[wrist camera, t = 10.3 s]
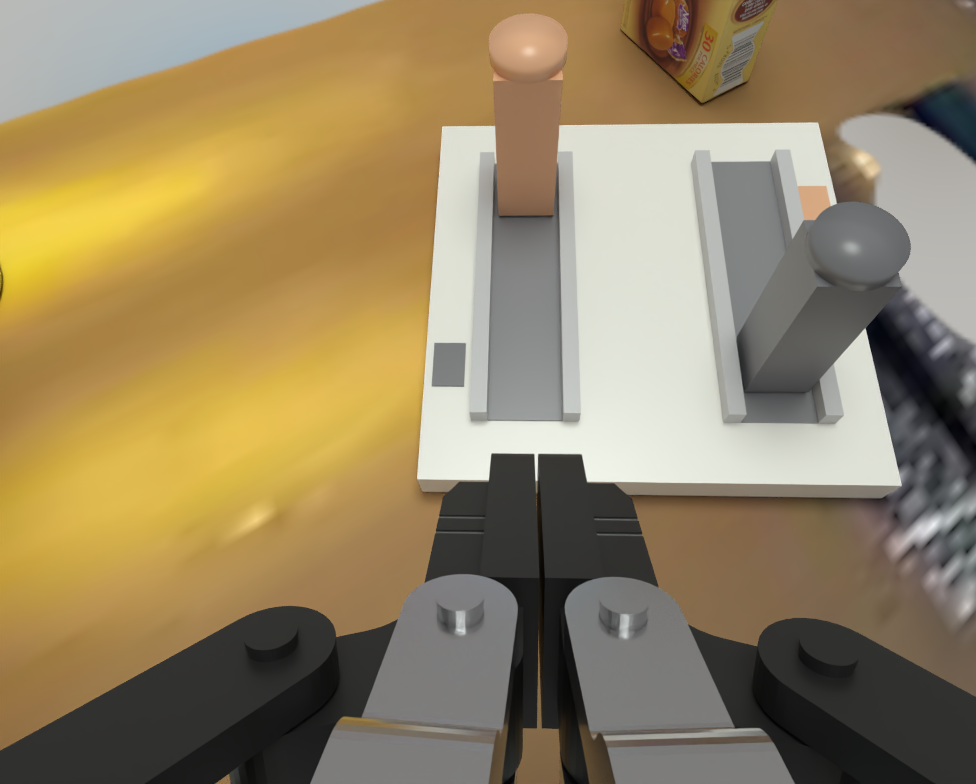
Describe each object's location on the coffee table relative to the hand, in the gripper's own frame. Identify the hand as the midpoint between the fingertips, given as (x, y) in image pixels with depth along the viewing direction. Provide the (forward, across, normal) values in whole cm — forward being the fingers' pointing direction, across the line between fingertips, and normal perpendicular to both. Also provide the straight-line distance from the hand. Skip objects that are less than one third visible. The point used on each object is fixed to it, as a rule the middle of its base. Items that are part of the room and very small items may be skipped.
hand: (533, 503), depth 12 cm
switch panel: (+28, -6, +3) cm, 29 cm away
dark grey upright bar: (+23, -12, +5) cm, 26 cm away
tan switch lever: (+30, 0, -3) cm, 30 cm away
